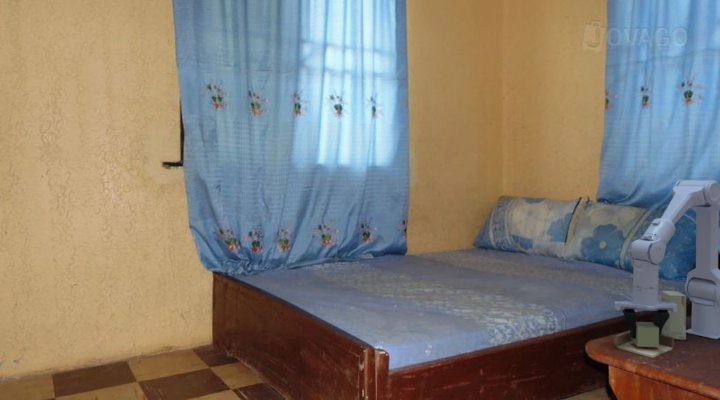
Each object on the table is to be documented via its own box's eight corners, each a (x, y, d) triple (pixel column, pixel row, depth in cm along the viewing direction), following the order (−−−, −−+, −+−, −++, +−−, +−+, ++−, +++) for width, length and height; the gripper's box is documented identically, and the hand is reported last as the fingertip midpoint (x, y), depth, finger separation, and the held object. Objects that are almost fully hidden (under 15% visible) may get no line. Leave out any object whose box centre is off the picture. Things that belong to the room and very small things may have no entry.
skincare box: (686, 340, 146) (687, 295, 145) (669, 339, 147) (669, 295, 146) (677, 333, 152) (678, 290, 152) (660, 332, 153) (661, 290, 152)
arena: (635, 338, 148) (635, 328, 147) (673, 348, 139) (674, 337, 139) (613, 347, 141) (613, 335, 141) (652, 357, 133) (652, 345, 133)
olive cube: (631, 340, 143) (631, 321, 142) (651, 341, 142) (651, 322, 141) (637, 346, 138) (637, 327, 137) (658, 347, 137) (658, 328, 136)
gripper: (620, 288, 136) (619, 341, 137) (682, 290, 134) (681, 344, 134) (612, 283, 143) (611, 333, 144) (671, 284, 140) (670, 335, 141)
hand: (644, 337), depth 140 cm, fingers closed on olive cube, 5 cm apart
